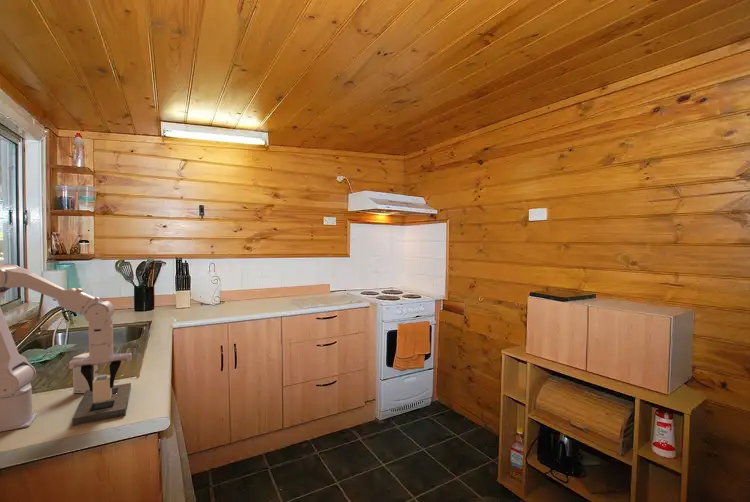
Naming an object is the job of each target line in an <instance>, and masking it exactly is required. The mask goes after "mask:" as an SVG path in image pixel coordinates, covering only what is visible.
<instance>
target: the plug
mask: <svg viewBox="0 0 750 502" xmlns="http://www.w3.org/2000/svg"><path fill="white" fill-rule="evenodd" d="M111 395H112V388H110V374H109V375H108V374H106V373H105V374H98V376H97V377H95V378H94V380H93V403H94V402H100V401H105V400H110V398H111Z"/></svg>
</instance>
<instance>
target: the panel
mask: <svg viewBox="0 0 750 502" xmlns="http://www.w3.org/2000/svg"><path fill="white" fill-rule="evenodd" d="M131 389H132V382H129V383H123V384H122V383H121V384H117V385H115V384H114V386H113V388H112V395H111V398H110V400H105V401H100V402H94V403H93V391H90V390H86V392H85V394H83V396H82V399H81V401H80V403H79V404H78V406H77V409H76V411H75V413H74V415H73V416H72V427H73V426H79V425H84V424H88V423H95V422H98V421H99V422H101V421H105V420H110V419H114V418H119V417H120V418H121V417H125V416H126V415H127V410H128V406H129V405H128V404H129V401H130V395H131ZM116 393H117V394H116Z"/></svg>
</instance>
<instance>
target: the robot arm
mask: <svg viewBox="0 0 750 502" xmlns="http://www.w3.org/2000/svg"><path fill="white" fill-rule="evenodd" d="M12 288H25V289H29V290H31V291H34V292H37V293H39V294H42V295H45V296H47V297H50V298H52V299H55V300H57V304H58V306H60V307H62V308H63V309H66V310H69V311H71V312H73V313H75V314H78V315H80V316H82V317H84V318H85V320H86V321H87V322H88V353H89V357H88V358H83V359H78V360H73V359H72V360H70V361H69V363H68V364H69V365H68V366H69V367H68V368H69V370H73V369H74V368H77V367H81V370H80V371H81V373H82V374H83V376H84V377H85V379H86V380H87V382H88V385H89V388H90V391H93V380H94V365H106V364H109V375H110V388H113V386H115V379H116V376H117V372H118V370H119V368H120V366H121V364H122V362H131V361H132V352H129V353H128V352H126V353H114V324H113V315H114V314H115V312H116V306H115V304H114V303H113V302H111V301H109V299H101V298H100V297H98V296H96V297H95V296H92V295H91V294H88V293H86V292H84V289H83V288H81V287H78V288H75V287H70V288H64V287H62V286H60V285H58V284H56V283H55V282H52V281H50V280H48V279H46V278H44V277H42V276H40V275H38V274H36V273H34V272H32V271H30V270H29V269H27V268H24V267H20V266H18V265H17V264H14V263H3V264H0V299H1V298H2V297H3V296H4V294H5V293H6V292H7V291H9V290H10V289H12ZM13 338H14V337H13V335H12V333H11V331H10V328H9V325H8V323H7V320H6V318H5V316H4V313H3V310H2V308H1V306H0V433H1V432H5V431H10V430H17V429H22V428H27V427H30V426H31V425H32V423H33V422H34V421H35V419H36V417H37V416H38V413H37V412H34V413H33V399H32V398H33V393H32V384H31V382H32V381H33V380H35V378H36V375H37V371H36V369H35V367H34V366H33V365H32V364H31V363H29V361H28V360H27V359H28V358H27V357H25V356H24V355H23V354H20V353H19V350H18V347H17V345H16V343H15V340H14V339H13Z"/></svg>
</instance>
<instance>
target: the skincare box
mask: <svg viewBox="0 0 750 502" xmlns="http://www.w3.org/2000/svg"><path fill="white" fill-rule="evenodd" d="M88 357H89V352H83V353H81V354H78V355H76V356H73V357H72V360H78V359H83V358H88ZM98 367H99V366H98V365H94V378H95V377H97V376H98V375H99V368H98ZM80 370H81V367H77V368H74V369H72V385H73V387H72V388H73V389H72V393H73V394H74V393H85V392H86V390H90V388H89V385H88V382H87V380H86V379H85V377H84V376H83V374H82V373H81V371H80Z"/></svg>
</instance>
